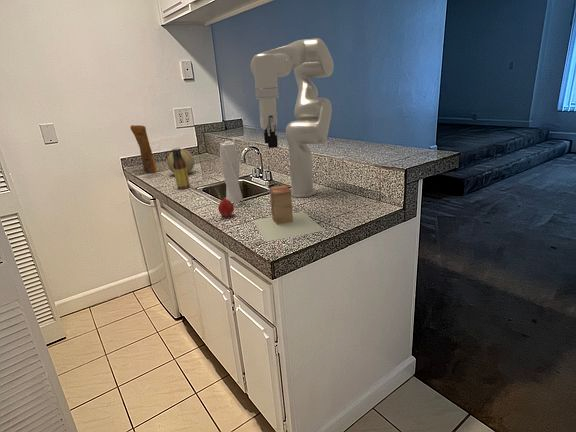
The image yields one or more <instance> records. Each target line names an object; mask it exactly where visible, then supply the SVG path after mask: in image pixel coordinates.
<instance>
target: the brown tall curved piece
mask: <svg viewBox="0 0 576 432" xmlns="http://www.w3.org/2000/svg"><path fill="white" fill-rule="evenodd" d="M129 128H130V130H131V132H132V133H133V136H134V138H135V140H136V142H137V145H138V147H139V151H140V156H141V161H142V166H143V171H144V172H146V173H149V174H156V173H157V172H158V168H157V164H156V161H155V158H154V155H153V151H152V147H151V145H150V140H149V137H148V134H147V128H146V126H144V125H137V124H136V125H134V124H133V125H130V127H129Z"/></svg>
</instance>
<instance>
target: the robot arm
mask: <svg viewBox="0 0 576 432" xmlns="http://www.w3.org/2000/svg"><path fill="white" fill-rule="evenodd" d="M334 66H335V63H334V60H333V57H332V55H331V53H330V51H329V48H328V47H327V45H326V44H325V42H324V40H322V39H321V38H319V37H318V38H317V37H316V38H315V37H314V38H309V39H308V38H307V39H299V40H295V41H293V42H291V43H289V44H288V43H287V45H283V46H280V47H276V48H273V49H270V50H266V51H263V52H260V53H257V54H254V56H253V57H252V59H251V61H250V72H251V74H252V75H253V77H254V86H255V89H254V90H255V98H256V100H259V103H258V104H259V106H258V107H259V108H258V109H259V121H260V128H261V129H263V136H264V137H263V138H264V143H265V144H267V147H268V148H269V149H273V148H278V147H279V143H278V135H277V134H278V133H277V128H278V113H277V112H278V111H277V103H276V101H277V100H276V99H279V86H278V85H279V83H278V78H283V77H287V76H289V75H290V73H291V72H292V70H293V71H294V77H295V81H296V83H297V87H298V91H297V92H298V93H297V98H296V102H295V105H294V106H295V107H294V112H293V115H294V118H295V120H292V121H290V122H289V123H288V124H287V125H286V128H285V135H286V141H287V145H288V151H289V165H290V167H289V168H290V169H289V170H290V186H291V188H290V189H291V198H293V197H294V198H309V197H313V196H315V195H316V194H317V193H318V192H317V191H318V190H317V189H316V188H315V187H314V181H313V178H314V177H313V176H314V175H313V155H312V151H311V149H310V148H309V146H308V145H322V144H324V143H325V142H326V141H327V138H328V135H329V129H330V124H331V119H332V112H333V111H332V109H333V107H332V103H331V100H330V99H329V98H326V97H318V96H319V90H318V88H317V86H316V85H315V84H314V82H313V81H311V79H317V78H321V79H322V78H327V77H330V76H331V75H332V74H334V69H335V68H334ZM312 195H313V196H312Z"/></svg>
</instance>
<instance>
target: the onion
mask: <svg viewBox="0 0 576 432" xmlns="http://www.w3.org/2000/svg"><path fill="white" fill-rule="evenodd" d="M234 206H235V205H233V204H232V203H231V202H230V201H229V200H227V199H226V197H224V198H223V199H222V200H221V201H220V203H219V204H218V212H219V213H220V215H222V216H223V217H224V218H229V217H230V216H231V215H232V214H233V213H234V210H235V207H234Z"/></svg>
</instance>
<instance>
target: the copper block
mask: <svg viewBox="0 0 576 432" xmlns="http://www.w3.org/2000/svg"><path fill="white" fill-rule="evenodd" d="M291 189H292V188H290V187H288V186H287V185H285V184H284V185H279V186H273V187H269V194H270V195H269V196H270V208H271V217H272V219H273V221H274V222H275V223H276V224H277V225H278V224H284V223H289V222H293V215H292V213H293V204H292V202H293V201H292V196H291Z"/></svg>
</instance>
